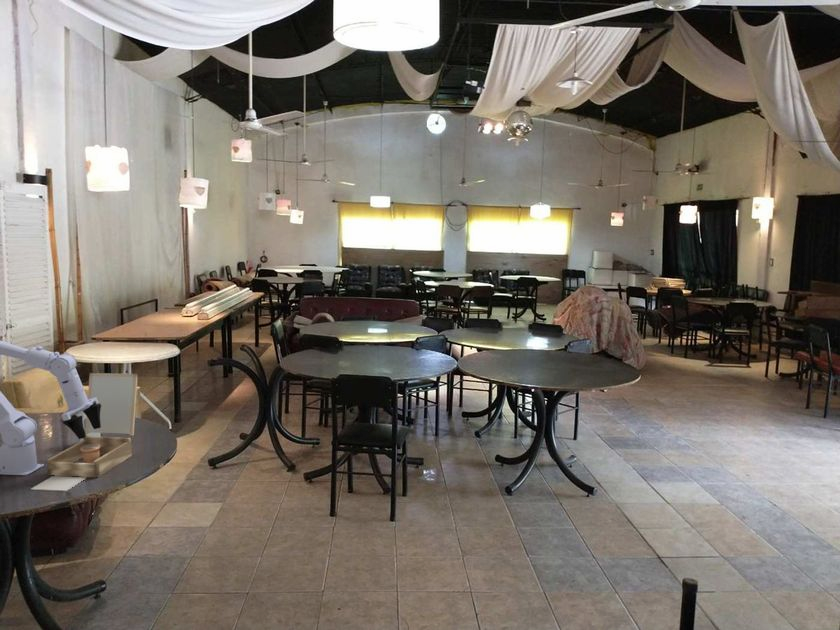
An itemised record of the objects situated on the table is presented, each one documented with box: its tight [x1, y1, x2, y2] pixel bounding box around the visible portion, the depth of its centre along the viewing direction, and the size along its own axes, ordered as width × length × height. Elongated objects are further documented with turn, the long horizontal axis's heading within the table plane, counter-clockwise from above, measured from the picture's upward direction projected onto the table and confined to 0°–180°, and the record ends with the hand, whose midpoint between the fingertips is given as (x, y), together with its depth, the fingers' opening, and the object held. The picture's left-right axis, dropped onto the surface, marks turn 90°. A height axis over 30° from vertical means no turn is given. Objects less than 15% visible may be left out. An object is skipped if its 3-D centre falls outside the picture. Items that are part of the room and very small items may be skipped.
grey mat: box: [30, 476, 87, 492], centre depth 185 cm, size 11×9×1 cm
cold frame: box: [46, 436, 133, 478], centre depth 199 cm, size 16×18×6 cm
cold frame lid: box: [85, 372, 139, 436], centre depth 209 cm, size 17×20×1 cm
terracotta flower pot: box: [80, 444, 101, 463], centre depth 199 cm, size 6×6×6 cm
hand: (90, 433), depth 197 cm, fingers open, 7 cm apart
